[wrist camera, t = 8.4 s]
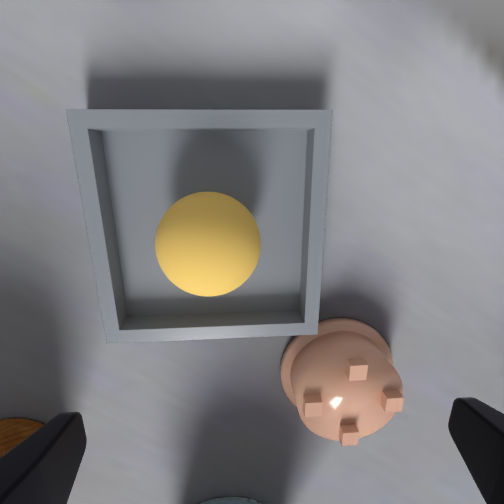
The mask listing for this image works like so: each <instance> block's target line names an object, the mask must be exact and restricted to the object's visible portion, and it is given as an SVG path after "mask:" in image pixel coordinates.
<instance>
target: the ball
mask: <svg viewBox="0 0 504 504" xmlns="http://www.w3.org/2000/svg"><path fill="white" fill-rule="evenodd" d="M155 251H156V256H157V260H158V263H159V265H160V267H161V269H162V271H163V272H164V274H165V275H166V277H167V278H168V279H169V280H170V281H171V282H172V283H173V284H174V285H176V286H177V287H178V288H180V289H182V290H184V291H186V292H188V293H191V294H194V295H198V296H218V295H223V294H226V293H229V292H231V291H233V290H235V289H236V288H238V287H239V286H241V285H242V284H243V283H244V282H245V281H246V280H247V279H248V278H249V277H250V276H251V274H252V273H253V271H254V269H255V267H256V265H257V263H258V260H259V256H260V252H261V237H260V232H259V228H258V226H257V223H256V221H255V219H254V217H253V216H252V214H251V213H250V212H249V210H248V209H247V208H246V207H245V206H244V205H243V204H241V203H240V202H239V201H237V200H236V199H234V198H232V197H230V196H228V195H225V194H222V193H218V192H198V193H193V194H191V195H188V196H185V197H184V198H182V199H180V200H178V201H177V202H175V203H174V204H173V205H172V206H171V207H170V208H169V209H168V210H167V211H166V213H165V214H164V216H163V217H162V219H161V221H160V223H159V225H158V228H157V232H156V237H155Z"/></svg>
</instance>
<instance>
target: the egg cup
mask: <svg viewBox="0 0 504 504" xmlns="http://www.w3.org/2000/svg"><path fill="white" fill-rule="evenodd" d="M280 376H281V381H282V385H283V389H284V391H285V393H286V395H287V397H288V398H289V400H290V401H291V402H292V403H293V404H294V405H295V406H296V407H297V408H298V412H299V415H300V417H301V420H302V421H303V423H304V424H305V425H306V427H307V428H308V429H309V430H311V431H312V432H313V433H315V434H317V435H319V436H321V437H323V438H326V439H331V440H339V441H340V443H341V445H342V446H349V445H358V440H359V438H362V437H365V436H367V435H369V434H372V433H374V432H375V431H377V430H379V429H380V428H382V427H383V426H384V425H385V424H386V423H388V421H389V420H390V419H391V418H392V417H393V416H394V414H395V413H396V412H401V411H402V406H403V400H404V397H403V396H402V394H403V387H402V382H401V379H400V376H399V374H398V373H397V371H396V370H395V368H394V367H393V366H392V355H391V351H390V349H389V347H388V345H387V343H386V342H385V340H384V339H383V338H382V337H381V335H380V334H379V333H378V332H377V331H376V330H375V329H374V328H372V327H371V326H369V325H368V324H366V323H364V322H361V321H358V320H355V319H349V318H334V319H328V320H323V321H320V322H318V335H297V336H296V337H295V338H294V339H293V340H292V341H291V342H290V343H289V345H288V346H287V348H286V350H285V352H284V354H283V356H282V360H281V365H280Z"/></svg>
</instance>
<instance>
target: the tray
mask: <svg viewBox="0 0 504 504" xmlns="http://www.w3.org/2000/svg"><path fill="white" fill-rule="evenodd" d="M332 111H333V110H193V109H66V113H67V119H68V125H69V130H70V136H71V142H72V148H73V153H74V159H75V165H76V171H77V176H78V182H79V188H80V193H81V199H82V205H83V211H84V216H85V222H86V228H87V234H88V239H89V245H90V251H91V257H92V262H93V268H94V274H95V279H96V285H97V291H98V297H99V302H100V308H101V314H102V320H103V325H104V331H105V337H106V343H130V342H154V341H177V340H200V339H224V338H247V337H271V336H294V335H318V320H319V305H320V290H321V275H322V260H323V245H324V230H325V216H326V201H327V186H328V171H329V156H330V141H331V126H332ZM198 192H218V193H222V194H225V195H228V196H230V197H232V198H234V199H236V200H237V201H239V202H240V203H241V204H243V205H244V206H245V207H246V208H247V209H248V210H249V212H250V213H251V214H252V216H253V217H254V219H255V221H256V223H257V226H258V228H259V232H260V237H261V252H260V256H259V260H258V263H257V265H256V267H255V269H254V271H253V273H252V274H251V276H250V277H249V278H248V279H247V280H246V281H245V282H244V283H243V284H242V285H241V286H239V287H238V288H236V289H235V290H233V291H231V292H229V293H226V294H223V295H218V296H198V295H194V294H191V293H188V292H186V291H184V290H182V289H180V288H178V287H177V286H176V285H174V284H173V283H172V282H171V281H170V280H169V279H168V278H167V277H166V275H165V274H164V272H163V271H162V269H161V267H160V265H159V263H158V260H157V256H156V251H155V237H156V232H157V228H158V225H159V223H160V221H161V219H162V217H163V216H164V214H165V213H166V211H167V210H168V209H169V208H170V207H171V206H172V205H173V204H174V203H175V202H177V201H178V200H180V199H182V198H184V197H185V196H188V195H191V194H193V193H198Z"/></svg>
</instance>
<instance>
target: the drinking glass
mask: <svg viewBox="0 0 504 504" xmlns="http://www.w3.org/2000/svg"><path fill="white" fill-rule="evenodd" d="M200 504H261V503H259V502H257V501H256V500H253V499H247V498H246V497H245V498H242V497H222V498H215V499H210V500H207V501H204V502H202V503H200Z"/></svg>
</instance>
